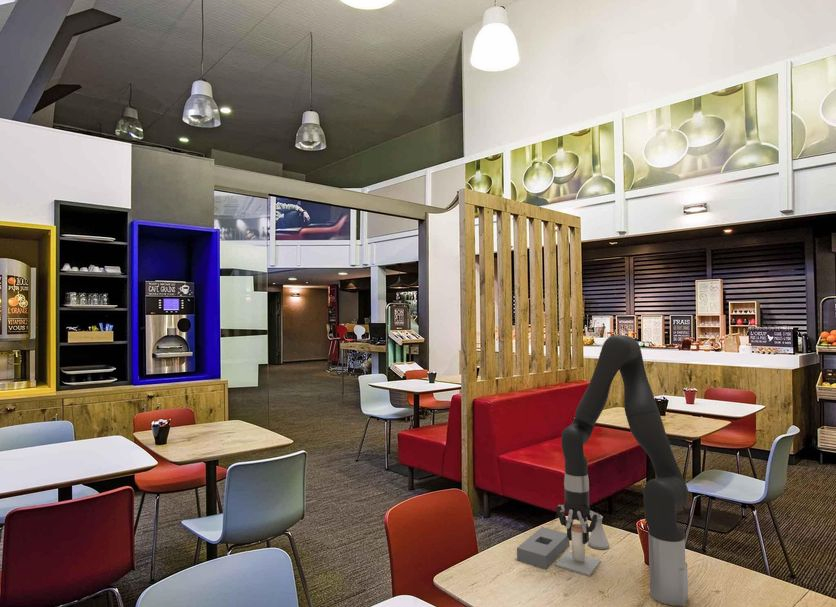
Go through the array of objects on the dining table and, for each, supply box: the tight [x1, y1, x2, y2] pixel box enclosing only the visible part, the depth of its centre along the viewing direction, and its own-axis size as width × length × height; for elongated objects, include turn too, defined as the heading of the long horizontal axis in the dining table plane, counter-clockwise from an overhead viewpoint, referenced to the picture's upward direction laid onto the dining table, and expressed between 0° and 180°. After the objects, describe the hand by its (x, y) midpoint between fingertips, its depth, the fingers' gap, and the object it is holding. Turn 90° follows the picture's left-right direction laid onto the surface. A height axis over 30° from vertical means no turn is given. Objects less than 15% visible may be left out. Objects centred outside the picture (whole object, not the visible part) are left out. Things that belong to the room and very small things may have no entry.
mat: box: [554, 550, 602, 577], centre depth 162 cm, size 11×11×1 cm
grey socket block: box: [516, 526, 571, 570], centre depth 170 cm, size 10×20×4 cm, turn 143°
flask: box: [587, 514, 610, 550], centre depth 175 cm, size 7×7×10 cm
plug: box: [571, 523, 586, 561], centre depth 162 cm, size 4×4×10 cm
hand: (577, 541), depth 162 cm, fingers closed on plug, 4 cm apart
